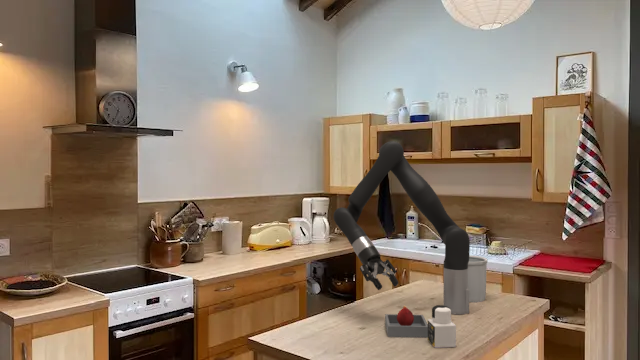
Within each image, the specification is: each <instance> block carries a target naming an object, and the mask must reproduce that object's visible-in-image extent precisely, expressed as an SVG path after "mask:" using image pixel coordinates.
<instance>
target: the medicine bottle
mask: <svg viewBox="0 0 640 360" xmlns="http://www.w3.org/2000/svg"><path fill="white" fill-rule="evenodd" d="M427 324H428V338H427V341H428V342H429V343H430V345H431V346H432V347H433V348H434V349H435V348H436V349H437V348H438V349H439V348H440V349H441V348H456V347H457V326H456V324H455V323H454V322H453V321H452V314H451V309H450V308H449V307H447V306H443V305H442V304H441V305H439V304H438V305H437V304H436V305H434V306H432V308H431V318H428V319H427Z"/></svg>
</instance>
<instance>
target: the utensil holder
mask: <svg viewBox="0 0 640 360" xmlns="http://www.w3.org/2000/svg"><path fill="white" fill-rule="evenodd" d="M487 265H488V259H487V258H486V257H484V256H480V255H471V254H469V262H468V289H469V303H482V302H484V301H486V295H487V267H488V266H487Z"/></svg>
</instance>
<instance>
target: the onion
mask: <svg viewBox="0 0 640 360" xmlns="http://www.w3.org/2000/svg"><path fill="white" fill-rule="evenodd" d="M397 314H398V315H397V321H398V323H399V324H400V325H401V326H411V325H412V324H413V322H414V316H413V315H414V314H413V312H412V311H411V310H410V309H409V308H408V307H407V306H406V305H403V306H402V309H400V310H399V311H398V313H397Z"/></svg>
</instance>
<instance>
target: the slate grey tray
mask: <svg viewBox="0 0 640 360" xmlns="http://www.w3.org/2000/svg"><path fill="white" fill-rule="evenodd" d="M397 315H398V313H397V314H396V313H395V314H394V313H390V314H389V313H386V314H384V325H385V330H386V333H387V334H386V335H387V338H424V339H425V338H427V339H428V321H427V320H426V318H425V316H424V315H423V314H413V316H414V322H413V324H412V325H411V326H401V325H400V324H399V323H398V321H397Z"/></svg>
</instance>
